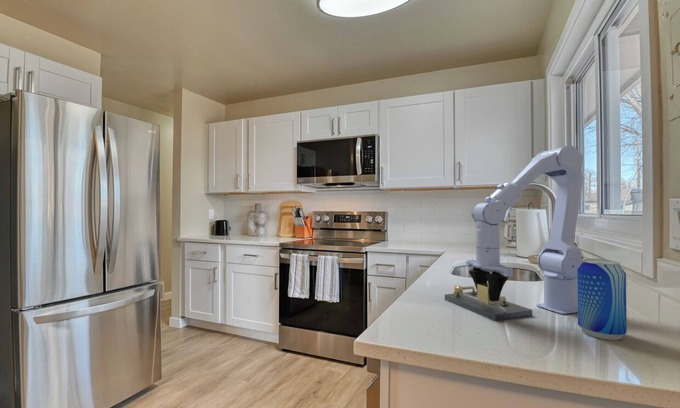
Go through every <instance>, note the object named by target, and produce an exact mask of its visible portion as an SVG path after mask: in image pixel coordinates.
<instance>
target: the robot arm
mask: <svg viewBox="0 0 680 408" xmlns="http://www.w3.org/2000/svg"><path fill="white" fill-rule="evenodd" d="M583 160H584V156H583V155H582V153H581V152H580V151H579V150H578V148H577V147H575V146H573V145H564V146H561V147H558V148H553V149H549V150H542V151H540V152H539V153H538V154H536V155H535V156H534V157H532V158H531V161H530V162H529V163H528V164H527V165H526V166H525V167H524V168H523V169H522V170H521V172H520V173H519V174H518V175H517V176H516V177H515V178H514V179H513V180H512V181H511V182H504V183H500V184H498V185H497V186H496V190H495V191H494V192H493V193H491V194H490V196H486V197H485V198H484V202H479V203H477V204H475V207H474V208H473V210H472V212H471V218H472V220H473V221H474V223H475V235H476V236H475V241H476V242H475V243H476V244H475V245H476V246H475V247H476V248H475V249H476V250H475V253H476V255H475V257H476V258H475V259H467V260H466V268H472V269H470V270H468V273H469V275H470V277H471V278H472V281H473V283H474V287H475V291H477V284H482V283H488V284H489V292H490V300H491V301H492V302H494V301H499V298H500V296H501V295H502V294H501V293H502V291H503V287H504V286H505V284H506V282H507V281H508V279H509V277H513V276H514V269H513V268H511V267H507V266H506V265H503V264H501V261H500V260H501V257H500V256H501V255H500V253H501V245H500V240H501V237H500V235H501V233H500V232H501V231H500V223H501V222H503V221H504V219H505V217H506V212H507V211H508V210H510V208H512V206H514V205H515V204H517V202H518V201H519V200H520V199H521V198H522V191H523V190H524V189H526V188H527V187H528V186H529V185H531V183H533V182H534V181H536V180H537V179H538V178H539V177H540V176H541V175H545V176H546V177H548V178H550V179H551V180H553V181H554V182H555V183H556V184H557V190H556V197H555V203H554V209H553V217H552V223H551V231H550V236H549V239H548V240H547V241H546V242H545V243H544V244H542V246H541V247H542V248H541V251H540V252H539V254H538V256H537V259H536V261H537V262H536V263H537V266H538V268H539V269H540V270H541V273H542V274H543V302H542V303H536V305H535V306H537V307H538V308H541V309H546V310H547V311H548V310H549V311H552V312H555V313H557V314H560V315H566V314H574V313H578V284H577V269H578V268H579V266H580V265H581V264H582V262H583V261H582V260H583V259H582V253H583V252H582V250H581V249H580V248H579V247H578V246H577V245H576V244H575V237H576V229H577V224H578V215H579V209H580V203H581V197H582V196H581V195H582V190H583V189H582V187H583V181H584V177H583V173H582V172H583V171H582V168H583V166H582V165H583Z"/></svg>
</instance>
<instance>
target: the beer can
mask: <svg viewBox="0 0 680 408" xmlns="http://www.w3.org/2000/svg"><path fill="white" fill-rule="evenodd" d="M581 260H582V264H581V265H580V266H579V268H578V269H577V284H578V312H577V326H579V328H580V329H581V332H583V333H584V334H585V335H588V336H590V337H593V338H597V339H602V340H609V341H618V340H619V339H620V340H622V339H623V338H624V336H625V335H626V334H627V333H628V332H627V331H628V329H627V328H628V327H627V325H628V324H627V320H628V319H627V275H626V274H627V273H626V272H625V269H623V268H622V266H621V262H620V261H617V260H610V259H603V258H602V259H601V258H583V259H581Z"/></svg>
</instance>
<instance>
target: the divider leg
mask: <svg viewBox="0 0 680 408" xmlns="http://www.w3.org/2000/svg"><path fill="white" fill-rule="evenodd" d="M476 291H477V300H478V301H481V302H483V303H486V304H496V303H499V301H494V302H492V301H491V300H490V292H489V284H488V282H487V283H482V284H477V290H476ZM499 300H503V303H506V301H507V299H506V296H504V295H502V296H501V295H500V298H499Z"/></svg>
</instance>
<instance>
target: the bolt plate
mask: <svg viewBox="0 0 680 408" xmlns="http://www.w3.org/2000/svg"><path fill="white" fill-rule="evenodd" d="M453 289H454V290H453V293H445V294H444V300H445V301H447V302H449V303H452V304H454V305H456V306H459V307H461V308H463V309H466V310H468V311H471V312H473V313H476V314H477V315H480V316H482V317H485V318H487V319H490V320H492V321H493V322H499V321H505V320H512V319H518V318H520V319H521V318H526V317H527V318H528V317H532V316H533V310H532V309H531V308H528V307H524V306H521V305H520V304H519V305H518V304H516V303H514V302H510V301H507V300H506V303H503V299H501V300H499V303H496V304H486V303H483V302H481V301H478V300H477V290H476V287H475V285H473V286H472V285H471V286H461V285H455V286H454V287H453ZM464 290H472V291H467V292H465V291H464Z"/></svg>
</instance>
